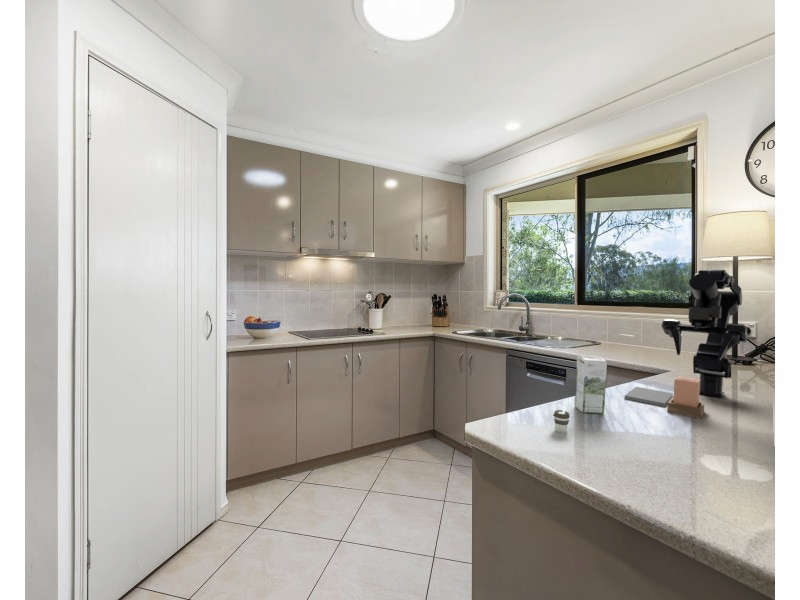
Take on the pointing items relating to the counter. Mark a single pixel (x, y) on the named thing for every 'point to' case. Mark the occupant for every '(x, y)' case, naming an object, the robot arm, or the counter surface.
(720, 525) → the counter surface
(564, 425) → the coffee cup
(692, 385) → the terracotta block
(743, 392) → the counter surface
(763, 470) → the counter surface
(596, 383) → the syrup box
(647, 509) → the counter surface
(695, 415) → the walnut holder
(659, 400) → the slate board
